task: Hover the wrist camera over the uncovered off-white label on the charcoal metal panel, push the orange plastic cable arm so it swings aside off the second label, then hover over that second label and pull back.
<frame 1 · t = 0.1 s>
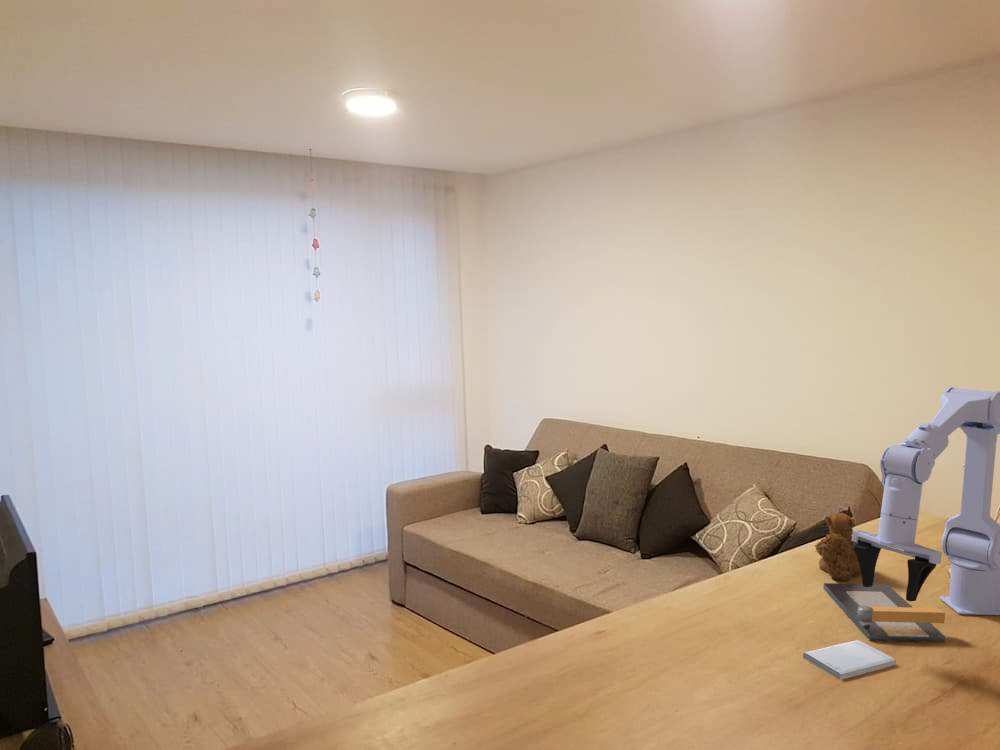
hand: (888, 593, 131), 11 cm above the table, tool pointing down, fingers open, 7 cm apart
psu panel: (878, 613, 148), on the table
stuffed squirrel: (839, 574, 169), on the table
hard drive: (848, 665, 129), on the table
cable arm: (899, 614, 139), point 3 cm above the table, hinge at 0.0°
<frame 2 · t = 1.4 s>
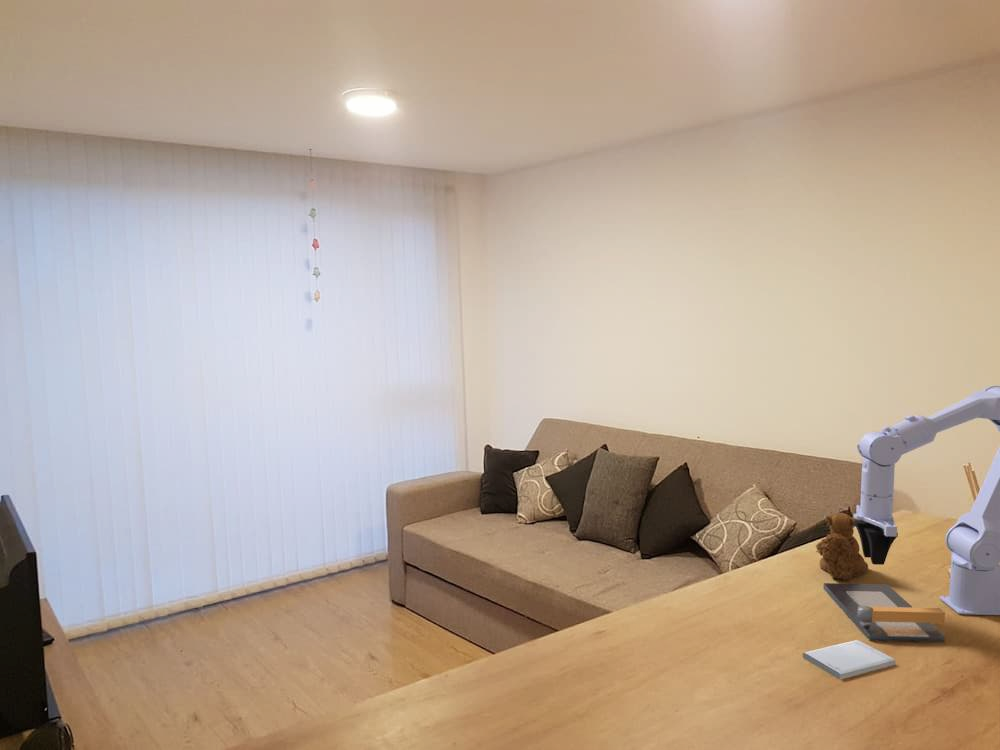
hand: (873, 560, 150), 9 cm above the table, tool pointing down, fingers open, 3 cm apart
nothing on the table moved.
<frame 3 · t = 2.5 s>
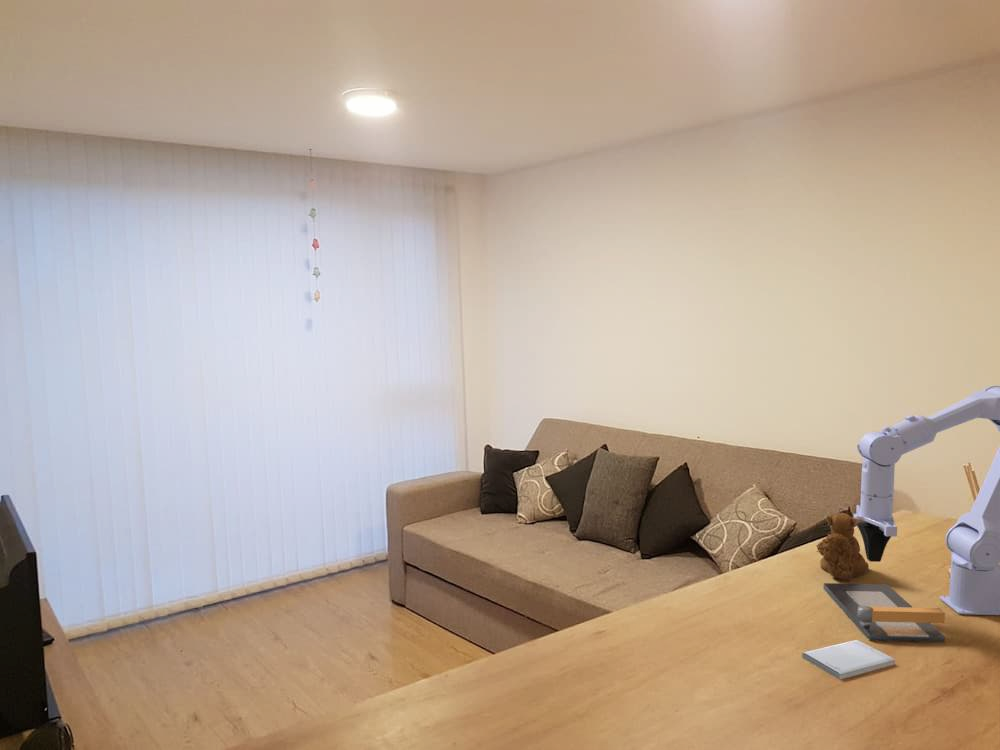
hand: (873, 560, 150), 9 cm above the table, tool pointing down, fingers closed
nothing on the table moved.
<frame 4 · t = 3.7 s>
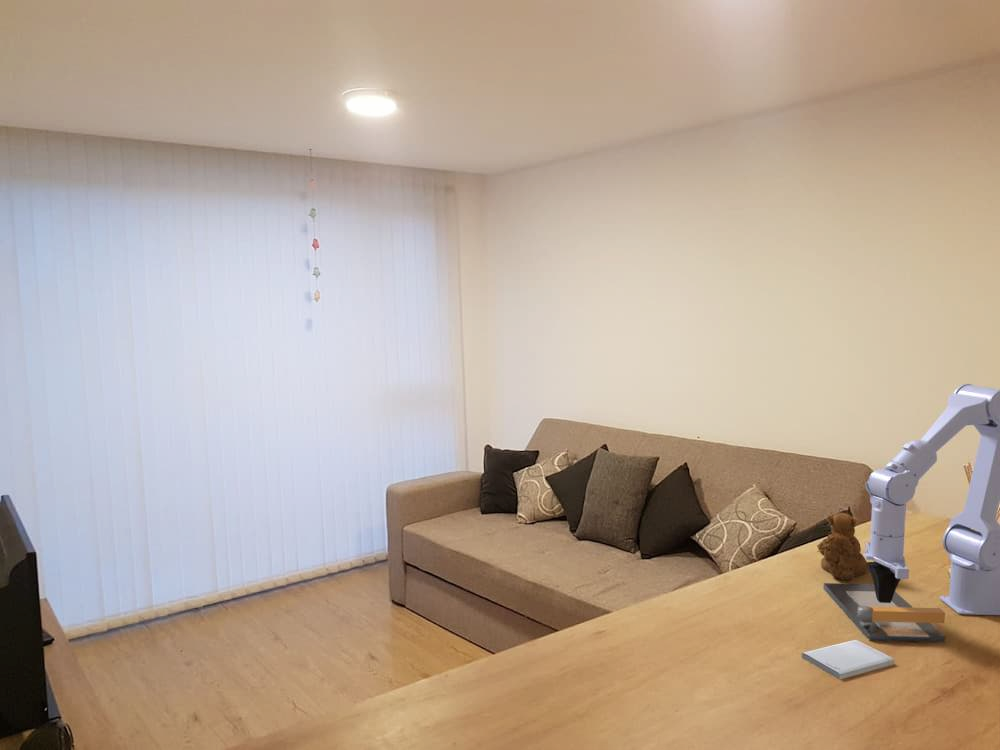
hand: (883, 601, 145), 3 cm above the table, tool pointing down, fingers closed
nothing on the table moved.
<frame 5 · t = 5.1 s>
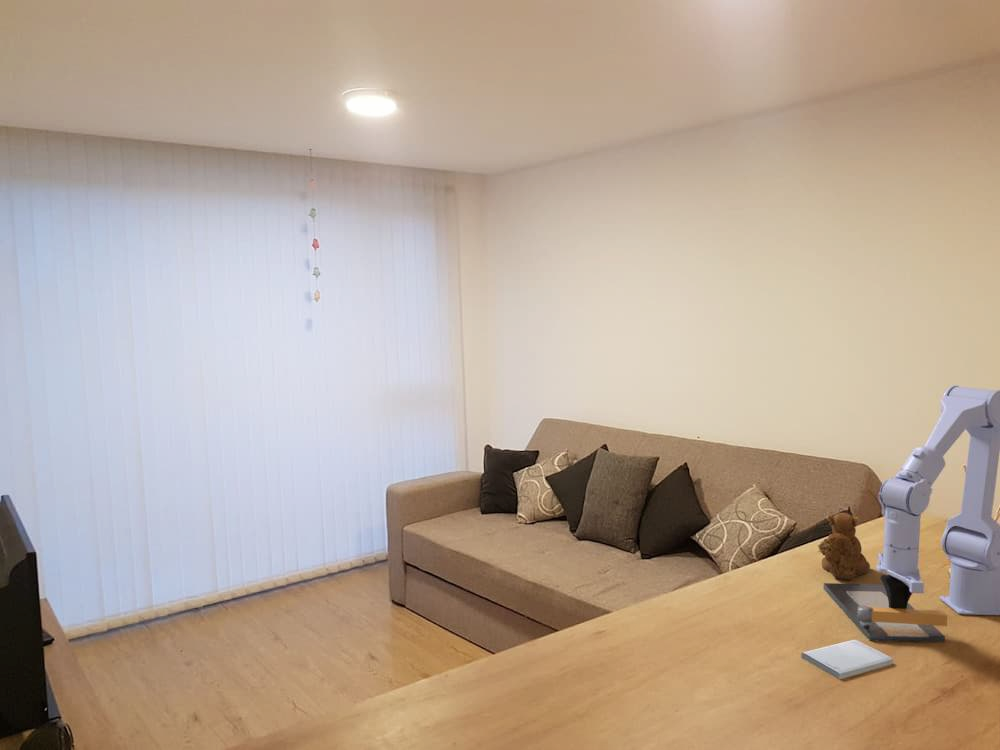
hand: (897, 615, 140), 3 cm above the table, tool pointing down, fingers closed, pressing on cable arm
cable arm: (900, 615, 138), point 3 cm above the table, hinge at 5.0°, touching gripper
everything else where it was.
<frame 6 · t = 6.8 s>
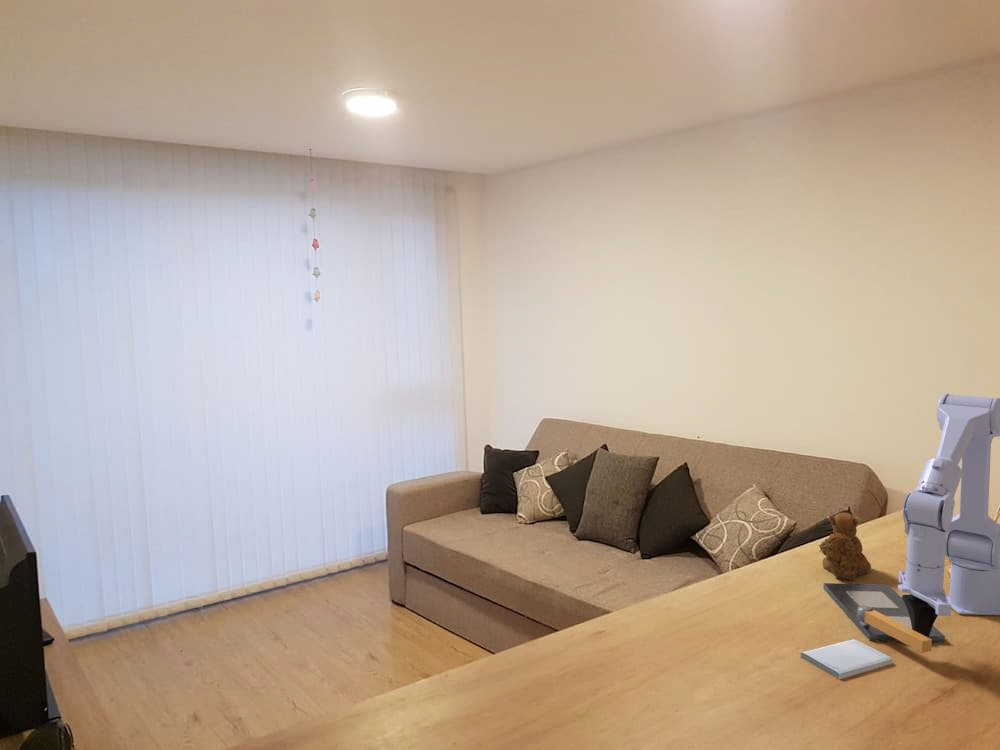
hand: (921, 638, 131), 3 cm above the table, tool pointing down, fingers closed, pressing on cable arm
cable arm: (891, 627, 134), point 3 cm above the table, hinge at 67.8°, touching gripper
everything else where it was.
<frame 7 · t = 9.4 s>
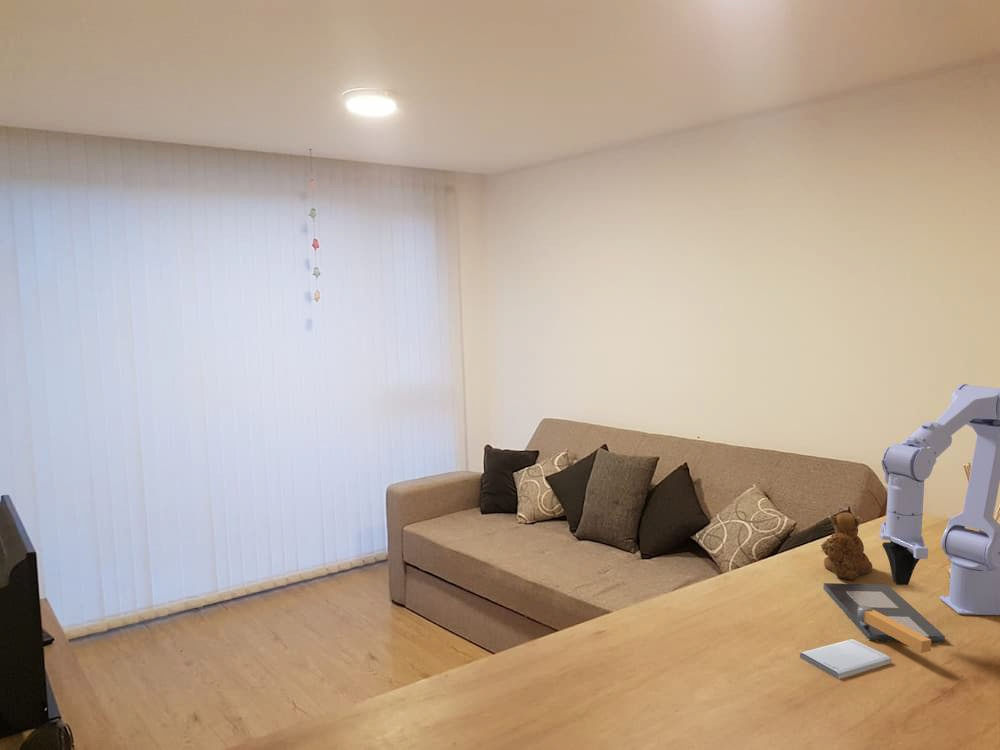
hand: (900, 583, 138), 9 cm above the table, tool pointing down, fingers closed
cable arm: (891, 627, 134), point 3 cm above the table, hinge at 68.4°
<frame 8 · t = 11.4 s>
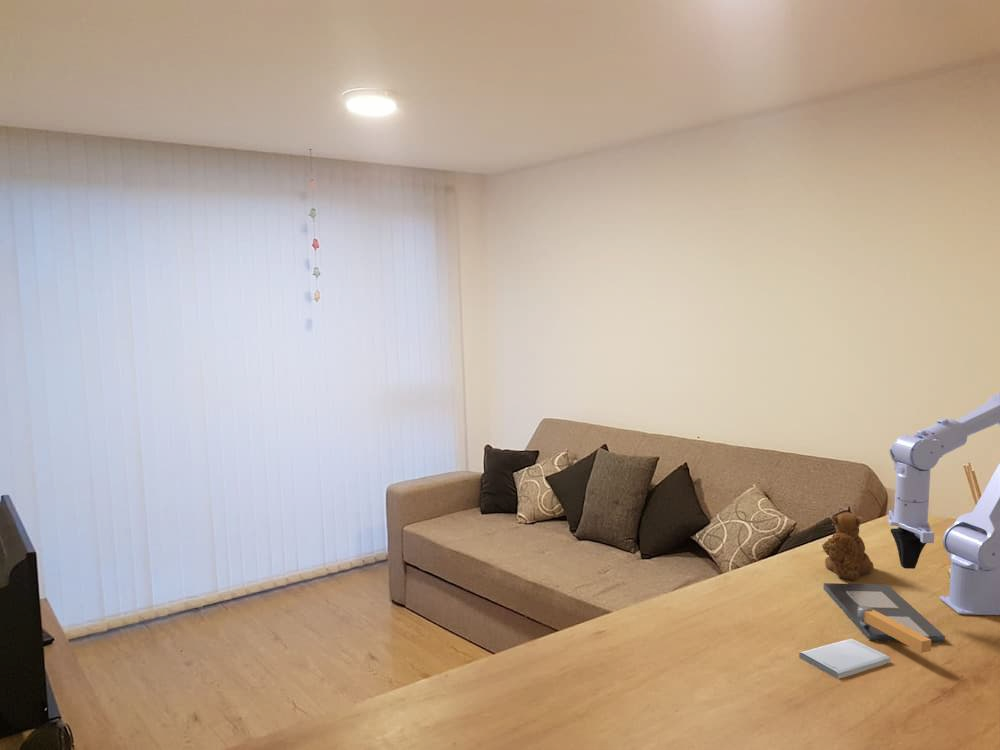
hand: (908, 567, 146), 9 cm above the table, tool pointing down, fingers closed
at the end: cable arm at +68° (first picture: +0°); hard drive moved 1.1 cm from its start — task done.
